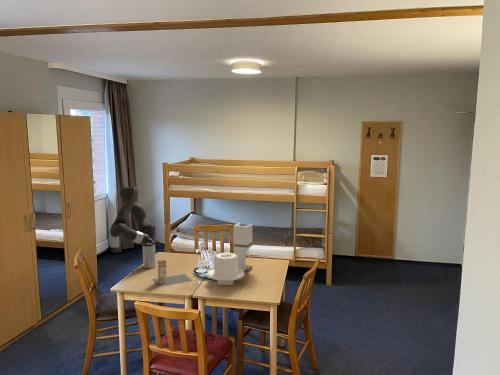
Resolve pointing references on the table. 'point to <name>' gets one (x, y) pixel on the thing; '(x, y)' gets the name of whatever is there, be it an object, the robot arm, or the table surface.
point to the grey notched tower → (242, 245)
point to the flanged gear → (226, 269)
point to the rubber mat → (173, 280)
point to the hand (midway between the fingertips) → (159, 244)
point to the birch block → (162, 271)
